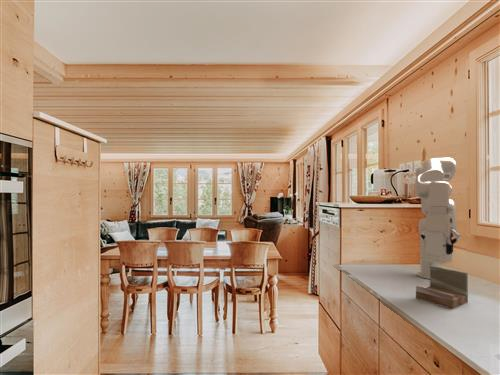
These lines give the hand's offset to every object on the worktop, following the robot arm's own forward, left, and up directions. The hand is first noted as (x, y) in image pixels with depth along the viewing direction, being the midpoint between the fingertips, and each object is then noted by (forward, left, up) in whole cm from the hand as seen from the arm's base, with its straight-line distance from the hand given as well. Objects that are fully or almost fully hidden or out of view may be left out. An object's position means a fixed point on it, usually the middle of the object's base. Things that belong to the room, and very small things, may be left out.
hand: (438, 252), depth 129 cm
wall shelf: (0, +1, -20) cm, 20 cm away
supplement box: (0, 0, -4) cm, 4 cm away
